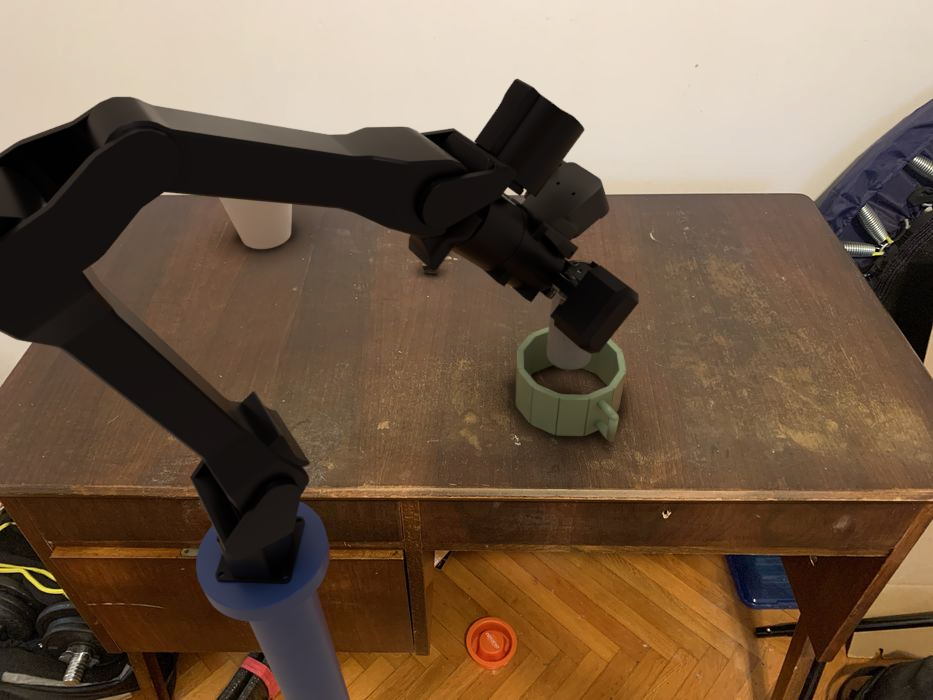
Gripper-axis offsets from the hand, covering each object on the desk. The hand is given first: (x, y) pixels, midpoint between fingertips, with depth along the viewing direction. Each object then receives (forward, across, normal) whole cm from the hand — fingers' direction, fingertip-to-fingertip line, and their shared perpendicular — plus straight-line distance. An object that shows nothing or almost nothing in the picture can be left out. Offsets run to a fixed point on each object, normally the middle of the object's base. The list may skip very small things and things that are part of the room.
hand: (586, 296), depth 70 cm
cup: (-2, +47, +21) cm, 52 cm away
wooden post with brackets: (+10, +30, +9) cm, 32 cm away
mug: (+9, -2, +10) cm, 13 cm away
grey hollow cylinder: (+4, 0, +6) cm, 7 cm away
